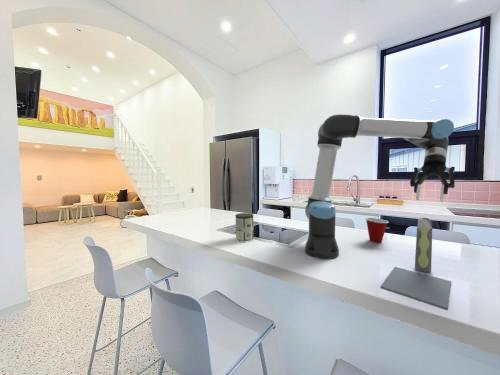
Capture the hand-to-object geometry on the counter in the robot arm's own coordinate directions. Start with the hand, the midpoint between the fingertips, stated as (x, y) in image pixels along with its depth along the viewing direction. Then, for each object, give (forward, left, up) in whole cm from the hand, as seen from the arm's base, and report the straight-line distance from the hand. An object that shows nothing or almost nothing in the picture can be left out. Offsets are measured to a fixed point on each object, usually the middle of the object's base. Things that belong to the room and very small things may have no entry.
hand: (428, 198), depth 85 cm
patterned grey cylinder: (-5, -8, -27) cm, 28 cm away
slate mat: (-13, -21, -26) cm, 36 cm away
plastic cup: (-11, +26, -27) cm, 39 cm away
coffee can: (-82, +14, -27) cm, 87 cm away
